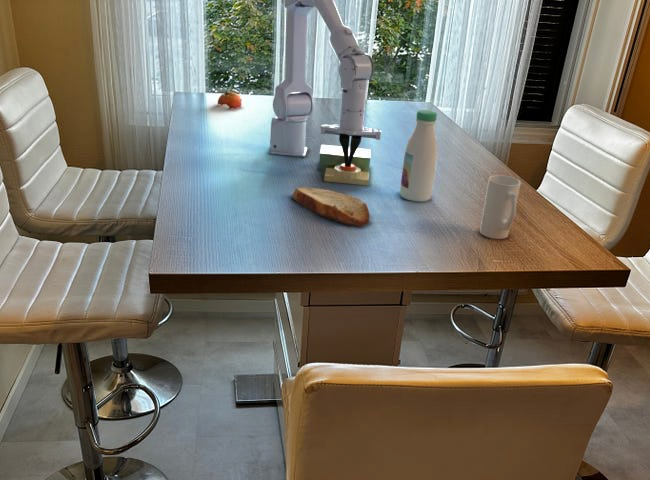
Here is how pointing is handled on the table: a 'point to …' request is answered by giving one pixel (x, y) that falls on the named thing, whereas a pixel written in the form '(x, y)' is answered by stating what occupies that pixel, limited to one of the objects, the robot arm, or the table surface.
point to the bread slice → (333, 205)
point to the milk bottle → (420, 159)
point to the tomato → (230, 100)
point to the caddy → (334, 161)
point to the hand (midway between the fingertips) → (347, 165)
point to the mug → (499, 206)
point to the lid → (338, 152)
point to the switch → (347, 167)
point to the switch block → (346, 176)
